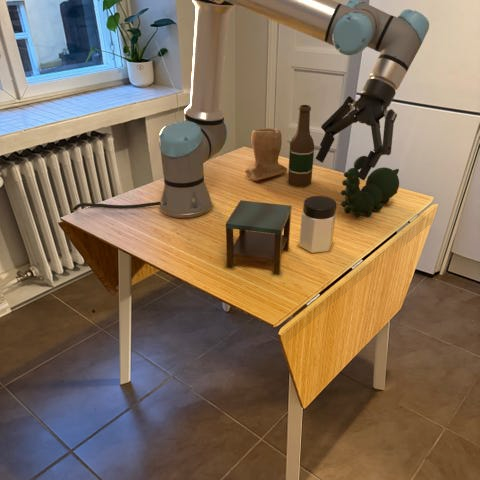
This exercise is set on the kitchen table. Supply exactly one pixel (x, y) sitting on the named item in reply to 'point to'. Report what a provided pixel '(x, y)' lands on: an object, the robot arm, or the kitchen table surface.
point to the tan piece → (266, 154)
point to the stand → (258, 232)
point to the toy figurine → (368, 189)
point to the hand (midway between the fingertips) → (339, 169)
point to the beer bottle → (301, 151)
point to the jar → (317, 223)
